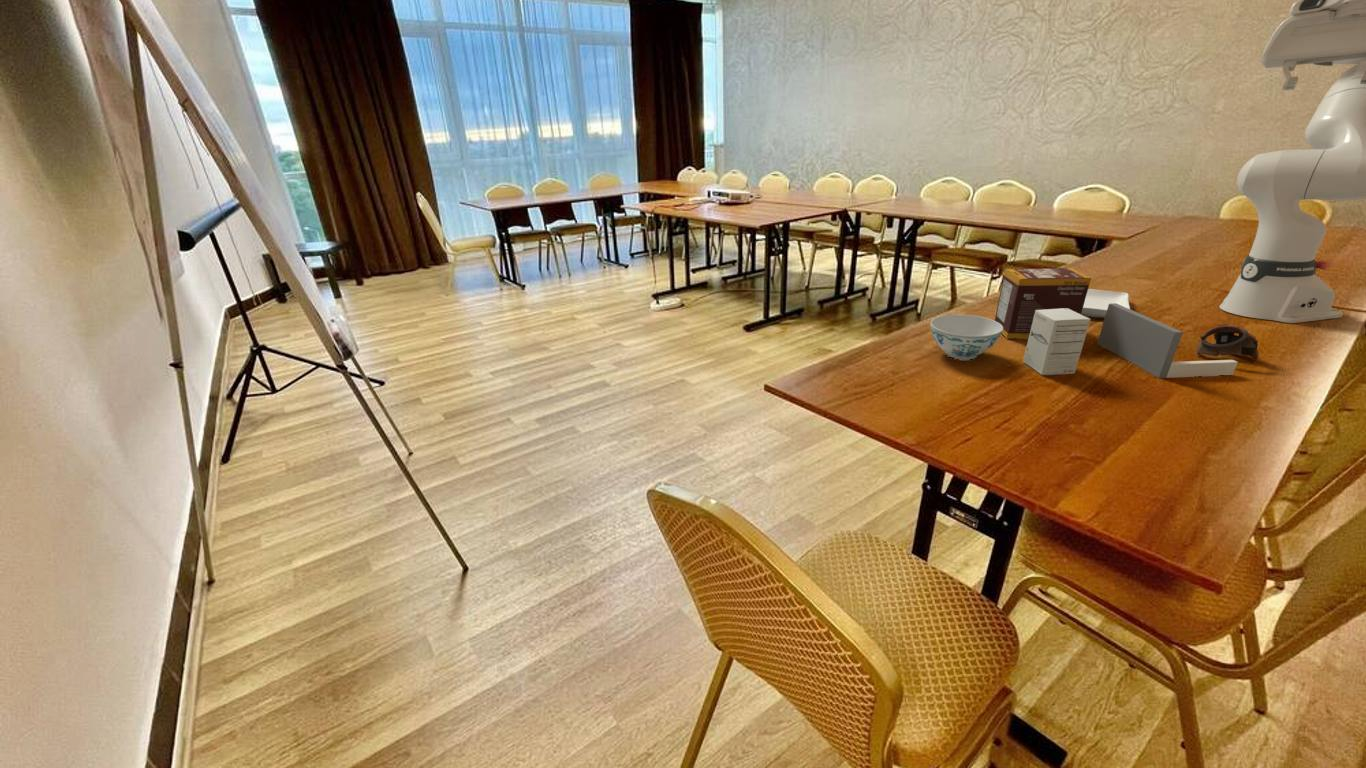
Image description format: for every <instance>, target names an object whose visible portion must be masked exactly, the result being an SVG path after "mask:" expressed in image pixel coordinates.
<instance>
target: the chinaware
mask: <svg viewBox="0 0 1366 768" xmlns="http://www.w3.org/2000/svg"><path fill="white" fill-rule="evenodd" d="M930 330H931V331H930V332H931V335H932V339H933V340H934V341H935V344H937V346H938V347H939V348H940V349H941V350H942V351H944V352H945V353H946V354H947V355H949V356H950V357H953V358H956V359H961V360H960V361H971V360H970V359H973V360H975V359H976V358H977V357H978V356H979V355H982V354H984V353H985V352H987V351H988V350H990V349H991V348H992V347H993V346H994V345H995V344H996V343H997V342H998V341H999V339H1000V337H1001V335H1002V334H1001V333H1002V331H1003V326H1002V325H1001V324H1000V323H998V322H996V321H995V319H990V318H989V317H988V318H987V317H984V316H980V315H970V314H947V315H946V314H945V315H939V316H936V317H935V318H933V319H932V320H931V321H930ZM946 354H945V355H946ZM974 358H975V359H974ZM956 359H955V360H956Z"/></svg>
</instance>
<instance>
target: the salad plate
mask: <svg viewBox="0 0 1366 768" xmlns="http://www.w3.org/2000/svg"><path fill="white" fill-rule="evenodd" d="M1129 296H1130V295H1129V293H1128V292H1123V291H1122V292H1121V291H1114V290H1113V291H1112V290H1111V291H1110V290H1102V289H1093V288H1092V289H1091V288H1088V291H1087V295H1086V298H1085V302H1084V306H1083V309H1082V312H1081V315H1083V316H1085V317H1088V318H1089V317H1091V318H1103V319H1105V316H1106V312H1107V309H1108V305H1109V304H1112V303H1116V304H1119V305H1121V306H1123V307H1126V308H1128V309H1130V310H1131V305H1130V302H1129V298H1130V297H1129Z"/></svg>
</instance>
